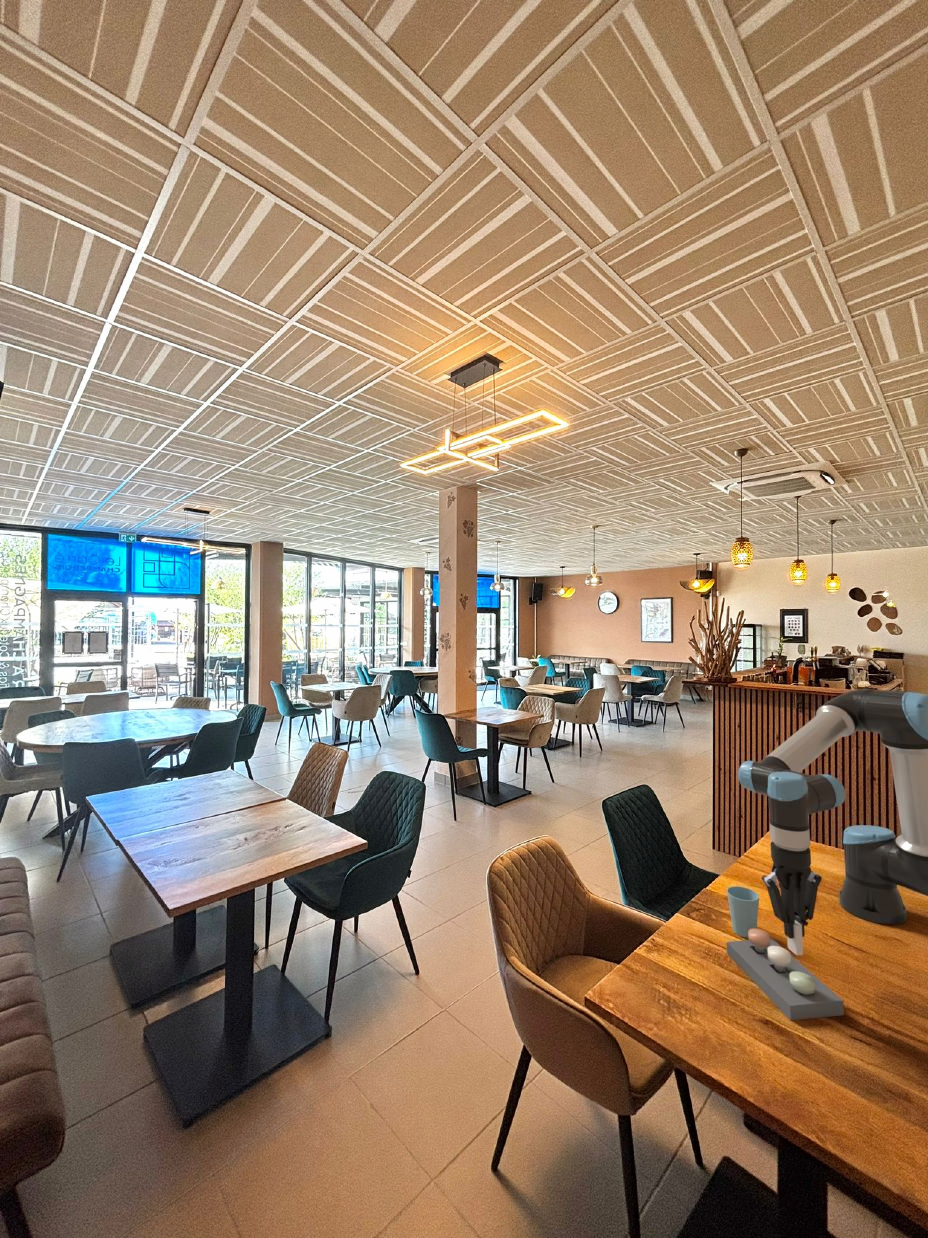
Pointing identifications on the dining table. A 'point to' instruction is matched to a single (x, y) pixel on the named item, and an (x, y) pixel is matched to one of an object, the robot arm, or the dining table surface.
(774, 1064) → the dining table surface
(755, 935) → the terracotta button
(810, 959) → the dining table surface
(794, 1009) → the gray rectangular slab
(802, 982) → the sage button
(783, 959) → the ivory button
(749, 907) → the cup
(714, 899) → the dining table surface
